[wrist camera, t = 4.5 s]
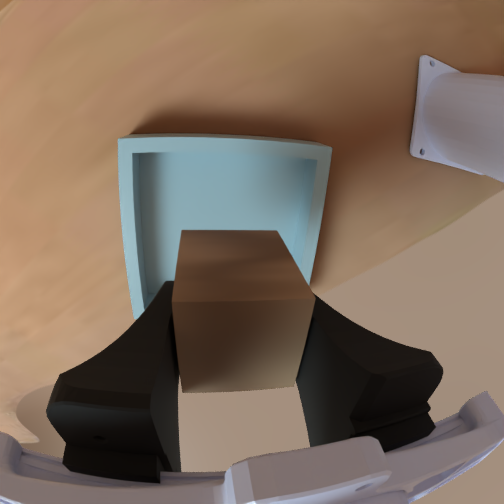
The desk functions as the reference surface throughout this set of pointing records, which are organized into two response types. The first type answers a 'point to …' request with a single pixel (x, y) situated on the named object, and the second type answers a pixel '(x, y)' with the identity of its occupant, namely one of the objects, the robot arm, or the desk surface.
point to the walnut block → (238, 311)
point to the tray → (214, 197)
